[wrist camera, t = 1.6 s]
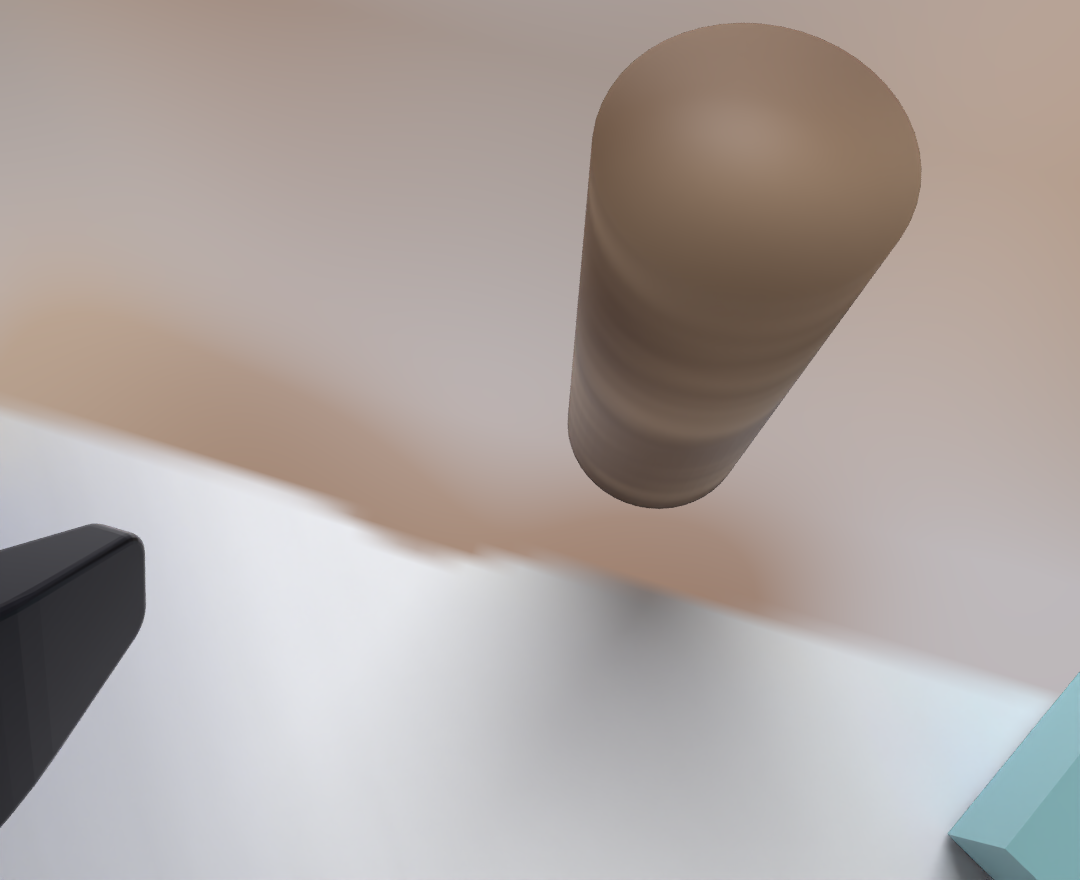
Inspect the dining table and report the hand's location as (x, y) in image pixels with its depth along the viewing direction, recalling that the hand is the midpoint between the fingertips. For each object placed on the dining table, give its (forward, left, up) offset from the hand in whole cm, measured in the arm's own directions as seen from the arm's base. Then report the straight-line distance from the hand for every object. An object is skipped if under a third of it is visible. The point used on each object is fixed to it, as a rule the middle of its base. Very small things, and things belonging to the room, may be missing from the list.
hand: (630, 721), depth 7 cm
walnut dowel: (+7, -4, -13) cm, 15 cm away
